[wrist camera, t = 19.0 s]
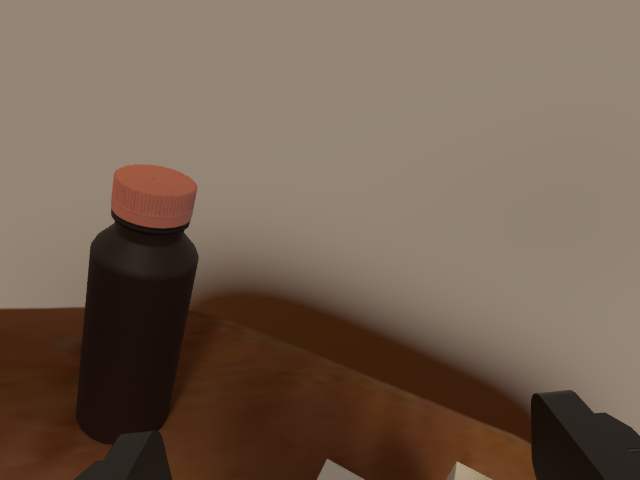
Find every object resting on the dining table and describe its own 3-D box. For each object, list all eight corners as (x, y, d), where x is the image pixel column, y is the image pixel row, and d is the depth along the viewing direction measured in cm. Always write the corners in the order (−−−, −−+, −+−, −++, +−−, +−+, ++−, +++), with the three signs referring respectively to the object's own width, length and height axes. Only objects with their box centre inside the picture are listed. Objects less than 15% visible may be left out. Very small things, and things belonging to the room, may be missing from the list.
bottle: (54, 418, 36) (69, 169, 27) (120, 369, 42) (149, 152, 33) (126, 464, 34) (166, 214, 26) (185, 405, 40) (232, 187, 32)
